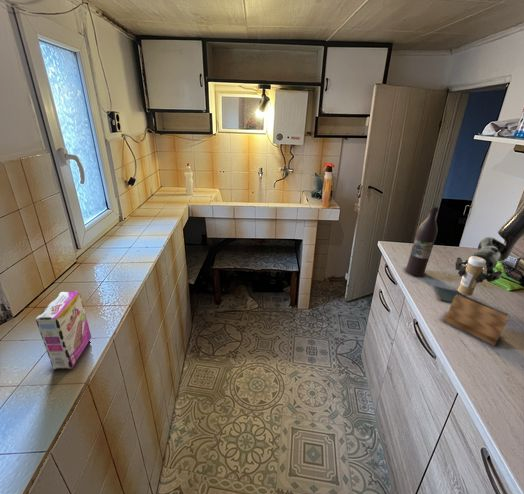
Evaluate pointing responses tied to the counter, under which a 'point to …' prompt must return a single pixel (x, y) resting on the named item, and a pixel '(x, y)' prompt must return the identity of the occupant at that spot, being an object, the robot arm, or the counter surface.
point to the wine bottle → (423, 244)
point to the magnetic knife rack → (476, 318)
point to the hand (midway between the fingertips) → (469, 276)
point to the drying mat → (447, 294)
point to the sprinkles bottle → (471, 275)
